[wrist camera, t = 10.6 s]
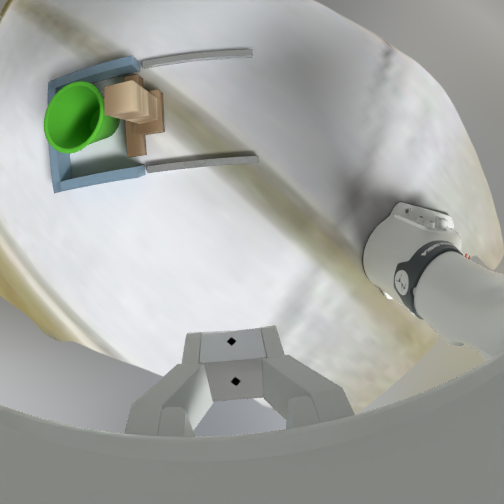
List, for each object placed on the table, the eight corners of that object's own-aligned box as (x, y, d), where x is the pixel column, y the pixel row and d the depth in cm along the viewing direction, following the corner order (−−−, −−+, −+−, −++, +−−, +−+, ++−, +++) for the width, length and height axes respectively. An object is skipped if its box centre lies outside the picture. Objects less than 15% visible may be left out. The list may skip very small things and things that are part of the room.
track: (251, 52, 34) (252, 49, 33) (257, 162, 40) (258, 162, 39) (144, 63, 33) (142, 61, 32) (149, 172, 39) (147, 173, 38)
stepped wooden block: (162, 75, 34) (133, 41, 20) (166, 151, 38) (135, 153, 24) (130, 81, 33) (88, 53, 19) (134, 156, 37) (90, 162, 23)
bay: (139, 62, 33) (132, 55, 29) (145, 174, 39) (137, 177, 35) (60, 85, 31) (48, 82, 28) (66, 188, 38) (53, 193, 34)
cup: (123, 84, 34) (94, 67, 23) (139, 136, 37) (111, 133, 27) (75, 110, 34) (37, 103, 23) (89, 160, 37) (53, 166, 27)
